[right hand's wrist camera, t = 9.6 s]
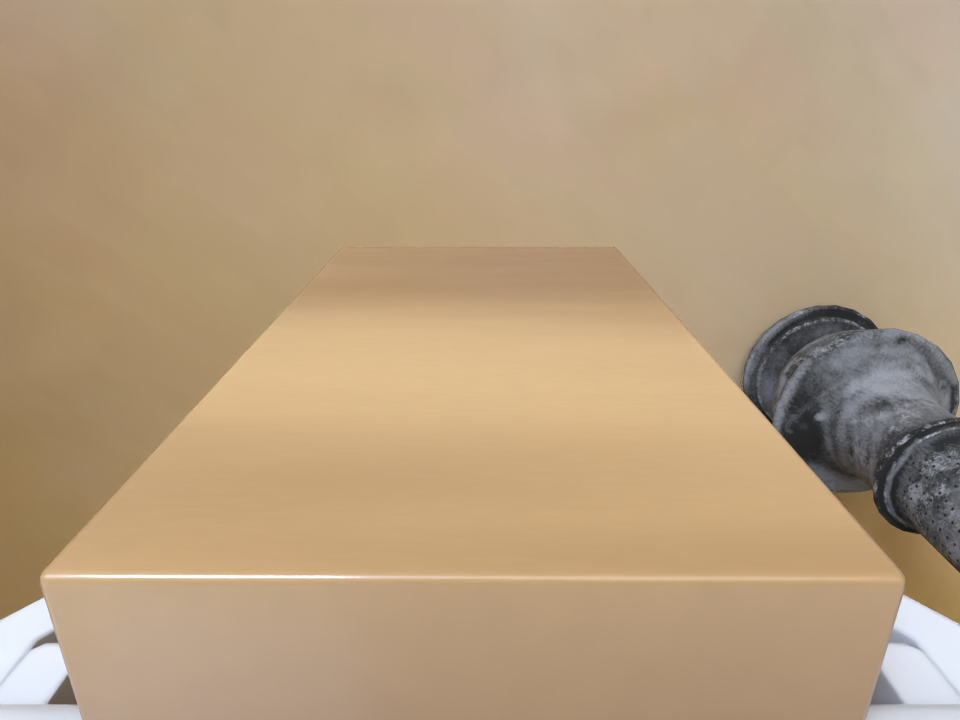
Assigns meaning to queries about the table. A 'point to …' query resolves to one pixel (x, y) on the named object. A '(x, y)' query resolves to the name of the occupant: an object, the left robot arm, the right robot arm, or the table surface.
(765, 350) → the grey chess piece
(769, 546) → the box
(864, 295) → the table surface
